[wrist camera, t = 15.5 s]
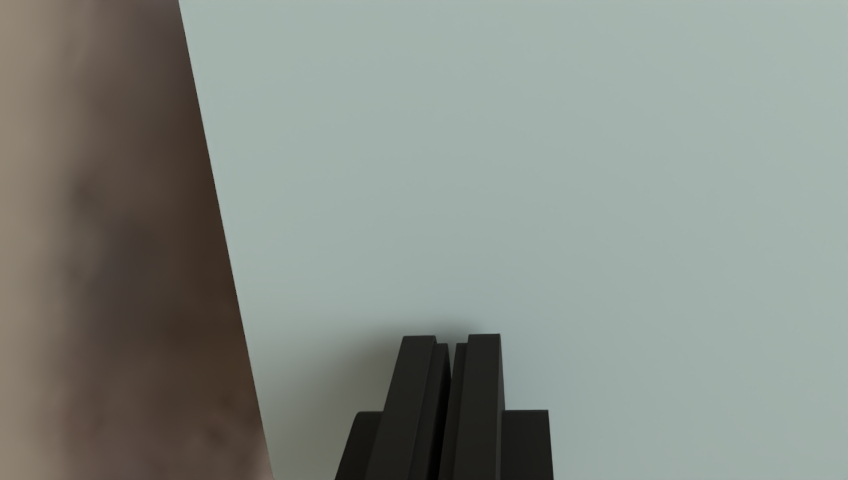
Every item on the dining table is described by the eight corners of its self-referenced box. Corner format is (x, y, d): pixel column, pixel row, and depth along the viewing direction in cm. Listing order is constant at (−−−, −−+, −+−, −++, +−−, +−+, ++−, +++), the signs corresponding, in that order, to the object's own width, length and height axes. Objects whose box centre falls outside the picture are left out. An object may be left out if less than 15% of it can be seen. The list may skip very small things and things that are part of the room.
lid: (1743, -229, 9) (1924, -258, 7) (1378, 548, 13) (1462, 603, 12) (200, -58, 12) (166, -61, 10) (307, 526, 16) (291, 568, 15)
